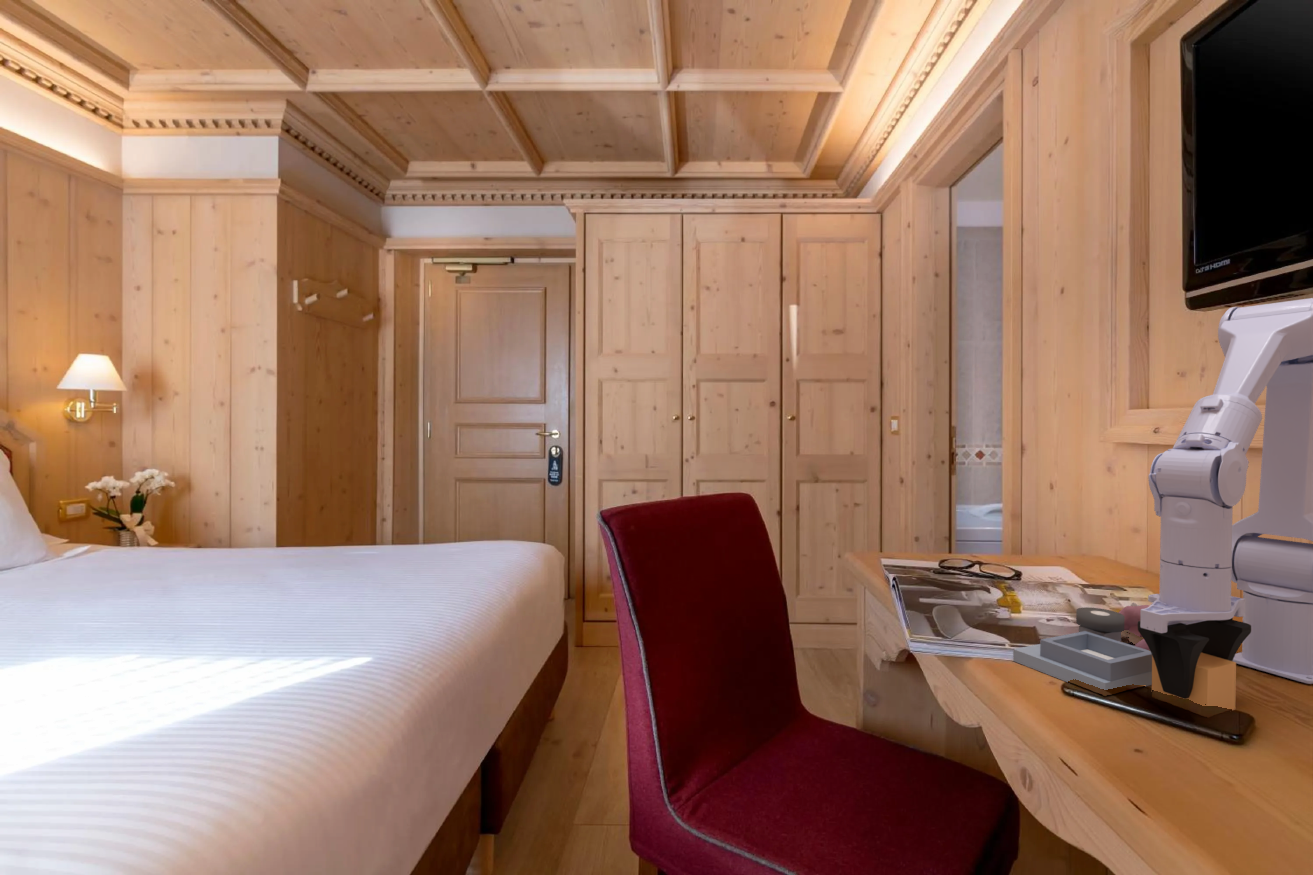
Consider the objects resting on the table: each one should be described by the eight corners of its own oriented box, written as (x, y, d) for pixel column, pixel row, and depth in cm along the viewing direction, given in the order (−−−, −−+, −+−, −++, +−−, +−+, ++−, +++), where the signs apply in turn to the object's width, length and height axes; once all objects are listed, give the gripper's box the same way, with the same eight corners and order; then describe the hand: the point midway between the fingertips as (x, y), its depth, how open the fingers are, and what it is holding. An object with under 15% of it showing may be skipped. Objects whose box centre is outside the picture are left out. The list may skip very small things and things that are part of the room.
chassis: (1087, 645, 83) (1088, 619, 83) (1183, 676, 72) (1184, 647, 72) (1013, 660, 77) (1013, 633, 77) (1105, 696, 67) (1105, 664, 67)
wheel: (1092, 633, 82) (1093, 605, 82) (1133, 645, 78) (1133, 616, 78) (1067, 638, 81) (1067, 609, 80) (1107, 651, 76) (1107, 621, 76)
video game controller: (1169, 677, 76) (1199, 628, 76) (1132, 658, 77) (1161, 609, 76) (1124, 648, 86) (1150, 605, 85) (1092, 632, 87) (1117, 588, 86)
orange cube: (1179, 690, 69) (1180, 646, 69) (1235, 709, 64) (1236, 662, 64) (1151, 698, 67) (1152, 652, 67) (1206, 718, 62) (1207, 669, 62)
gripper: (1191, 549, 72) (1190, 665, 72) (1110, 560, 66) (1108, 685, 67) (1270, 562, 65) (1268, 689, 66) (1186, 575, 60) (1184, 714, 60)
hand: (1192, 689), depth 66 cm, fingers open, 5 cm apart
